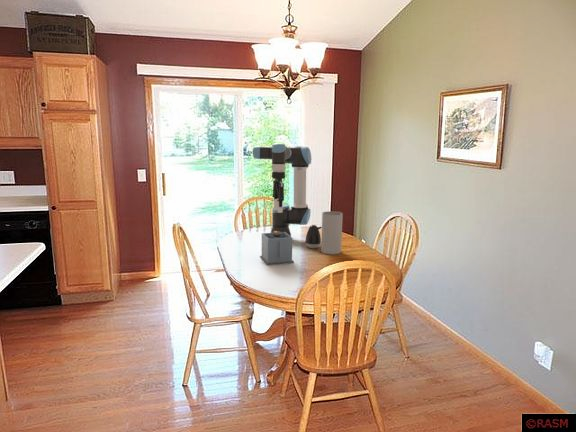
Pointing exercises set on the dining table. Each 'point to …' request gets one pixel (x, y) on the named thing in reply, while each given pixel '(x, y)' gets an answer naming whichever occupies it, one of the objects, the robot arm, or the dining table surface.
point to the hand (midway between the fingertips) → (278, 211)
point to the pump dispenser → (313, 237)
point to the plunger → (276, 234)
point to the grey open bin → (276, 249)
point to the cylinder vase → (331, 232)
